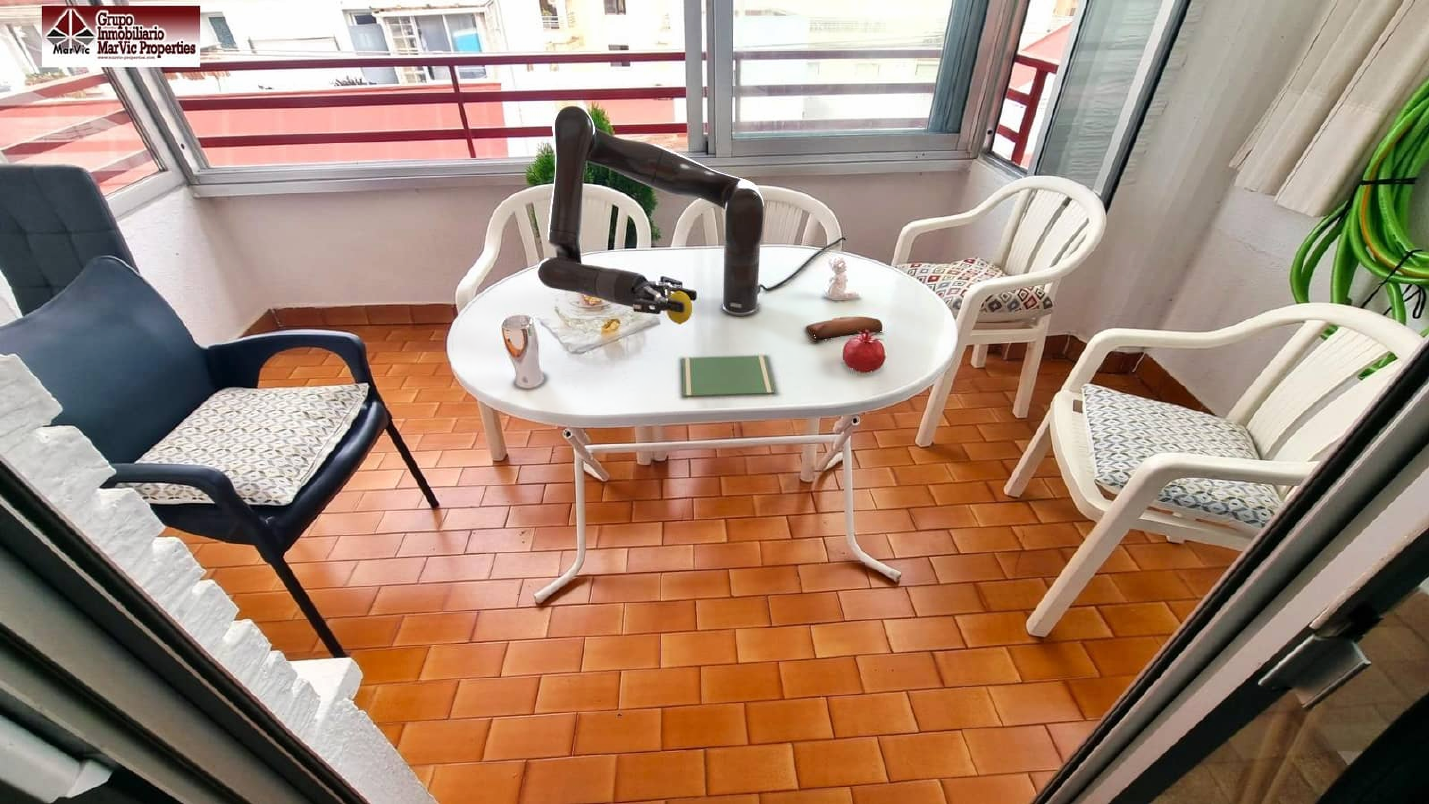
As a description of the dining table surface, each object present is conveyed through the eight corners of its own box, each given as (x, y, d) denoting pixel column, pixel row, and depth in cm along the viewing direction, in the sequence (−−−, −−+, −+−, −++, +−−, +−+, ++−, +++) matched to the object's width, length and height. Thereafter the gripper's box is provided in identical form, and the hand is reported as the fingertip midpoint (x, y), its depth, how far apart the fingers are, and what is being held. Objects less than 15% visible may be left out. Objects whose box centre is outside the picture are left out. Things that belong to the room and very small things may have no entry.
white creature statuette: (859, 298, 163) (866, 258, 156) (837, 306, 159) (843, 265, 152) (836, 286, 169) (842, 247, 162) (814, 294, 165) (819, 254, 158)
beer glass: (517, 372, 132) (503, 314, 123) (548, 371, 133) (536, 313, 124) (511, 390, 127) (496, 330, 118) (543, 388, 127) (530, 329, 118)
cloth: (682, 359, 137) (682, 358, 137) (765, 357, 138) (765, 355, 138) (683, 396, 125) (683, 395, 125) (774, 393, 126) (774, 392, 126)
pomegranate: (856, 382, 130) (863, 346, 124) (832, 360, 137) (837, 325, 132) (892, 372, 133) (900, 337, 128) (867, 351, 140) (873, 317, 135)
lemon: (689, 331, 125) (688, 298, 120) (664, 328, 125) (662, 295, 121) (694, 319, 129) (694, 286, 124) (670, 316, 130) (669, 284, 125)
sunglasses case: (866, 317, 153) (876, 304, 147) (875, 340, 150) (885, 327, 144) (803, 326, 149) (810, 312, 143) (811, 350, 147) (819, 337, 141)
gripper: (602, 284, 121) (674, 300, 115) (636, 259, 131) (704, 272, 126) (605, 316, 125) (675, 332, 120) (638, 289, 136) (704, 303, 130)
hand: (689, 301), depth 123 cm, fingers closed on lemon, 5 cm apart
